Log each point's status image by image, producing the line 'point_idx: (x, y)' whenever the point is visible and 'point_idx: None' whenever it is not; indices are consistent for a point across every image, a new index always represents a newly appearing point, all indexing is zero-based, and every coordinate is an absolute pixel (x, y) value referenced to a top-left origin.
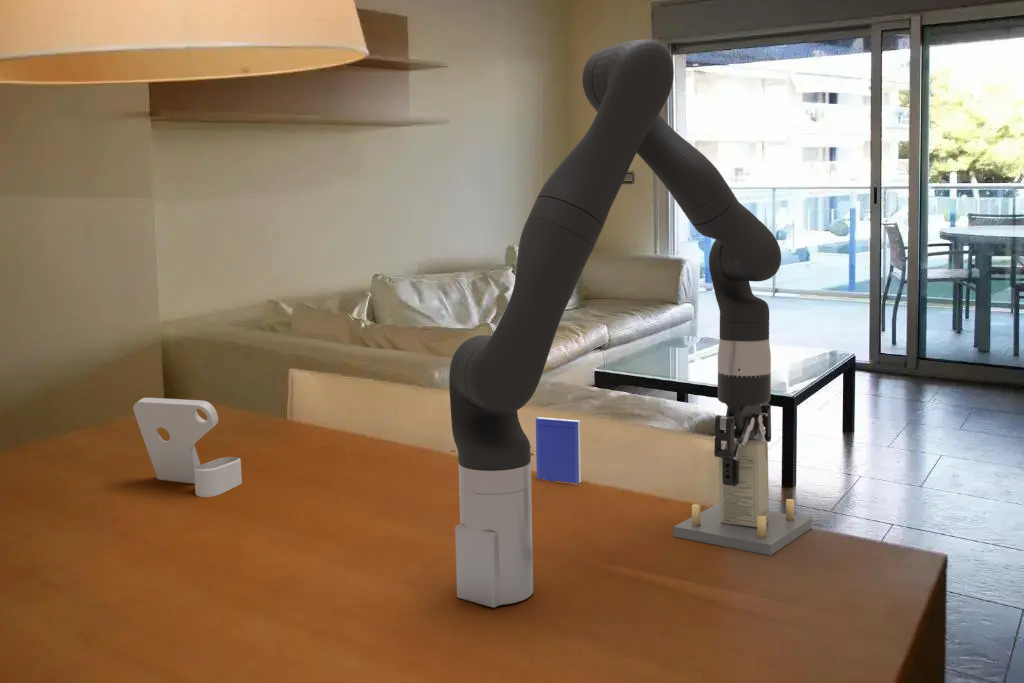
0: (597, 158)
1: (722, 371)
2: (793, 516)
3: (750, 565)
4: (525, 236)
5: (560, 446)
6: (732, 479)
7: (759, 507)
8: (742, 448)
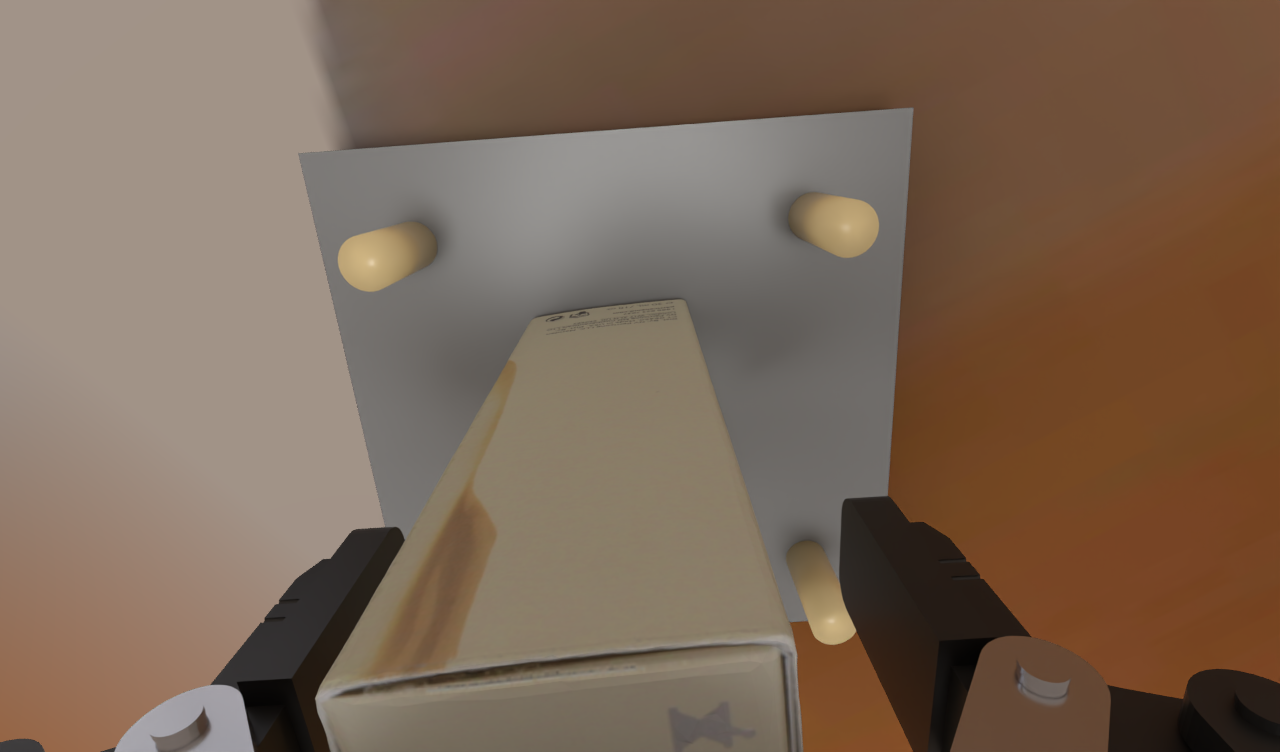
0: None
1: None
2: (406, 223)
3: (1080, 124)
4: None
5: None
6: (943, 538)
7: (688, 329)
8: None
